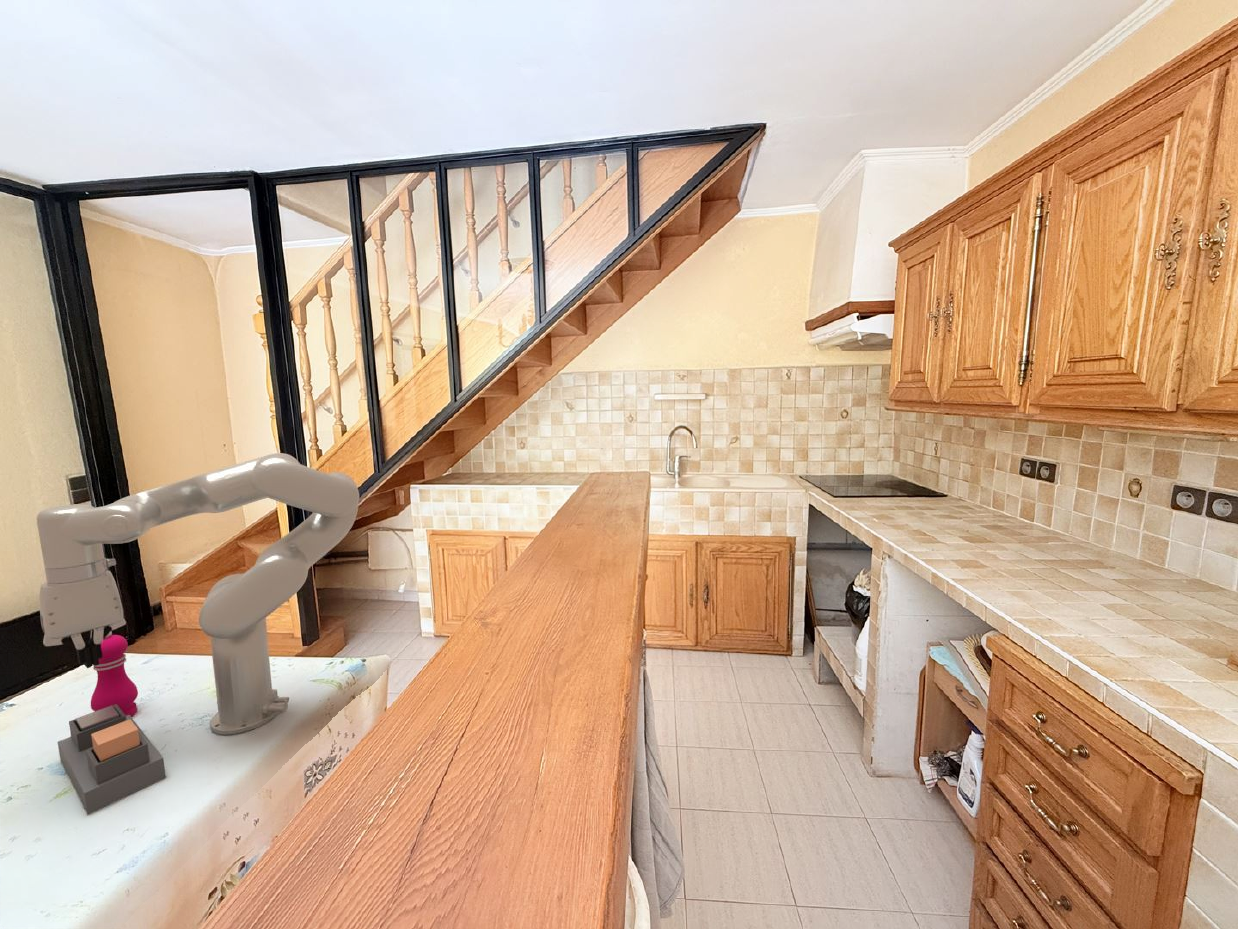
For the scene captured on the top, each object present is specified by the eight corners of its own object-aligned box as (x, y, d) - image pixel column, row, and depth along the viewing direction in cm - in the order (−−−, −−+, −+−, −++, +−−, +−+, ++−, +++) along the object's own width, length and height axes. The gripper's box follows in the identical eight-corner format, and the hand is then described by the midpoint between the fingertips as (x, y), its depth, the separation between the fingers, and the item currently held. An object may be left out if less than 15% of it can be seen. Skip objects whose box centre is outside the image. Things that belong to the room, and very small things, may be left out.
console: (166, 777, 91) (161, 740, 90) (87, 815, 83) (81, 774, 82) (131, 732, 104) (127, 699, 103) (60, 761, 95) (54, 724, 94)
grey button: (120, 728, 97) (118, 714, 97) (83, 743, 93) (81, 728, 93) (113, 719, 100) (111, 705, 100) (77, 733, 96) (75, 718, 96)
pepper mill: (110, 730, 104) (97, 639, 102) (84, 725, 106) (70, 636, 103) (149, 709, 111) (138, 624, 109) (123, 705, 113) (112, 621, 110)
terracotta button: (140, 744, 89) (138, 729, 89) (100, 761, 85) (98, 745, 85) (132, 734, 92) (130, 719, 92) (93, 749, 88) (91, 734, 87)
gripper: (126, 557, 101) (138, 643, 103) (10, 580, 88) (28, 676, 91) (137, 564, 96) (149, 653, 99) (17, 589, 84) (35, 690, 87)
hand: (91, 664), depth 95 cm, fingers closed
